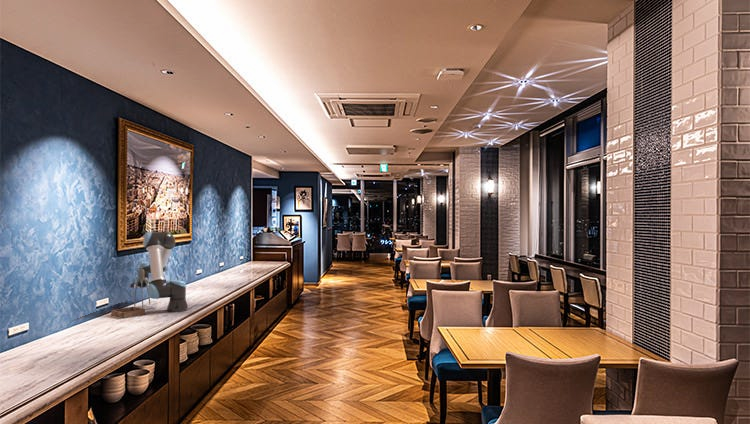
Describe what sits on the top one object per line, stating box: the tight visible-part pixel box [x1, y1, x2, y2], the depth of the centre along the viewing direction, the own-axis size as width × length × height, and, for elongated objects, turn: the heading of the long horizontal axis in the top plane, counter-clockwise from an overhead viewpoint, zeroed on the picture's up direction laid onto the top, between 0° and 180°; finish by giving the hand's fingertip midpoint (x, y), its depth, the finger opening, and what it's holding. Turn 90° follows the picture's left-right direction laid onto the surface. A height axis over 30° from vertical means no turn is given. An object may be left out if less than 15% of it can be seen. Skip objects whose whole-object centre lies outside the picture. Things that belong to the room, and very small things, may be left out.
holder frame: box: [110, 306, 146, 319], centre depth 350 cm, size 16×17×4 cm
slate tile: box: [136, 304, 155, 311], centre depth 372 cm, size 14×14×1 cm
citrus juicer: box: [133, 268, 151, 308], centre depth 371 cm, size 11×10×30 cm
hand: (141, 286), depth 368 cm, fingers closed on citrus juicer, 9 cm apart
